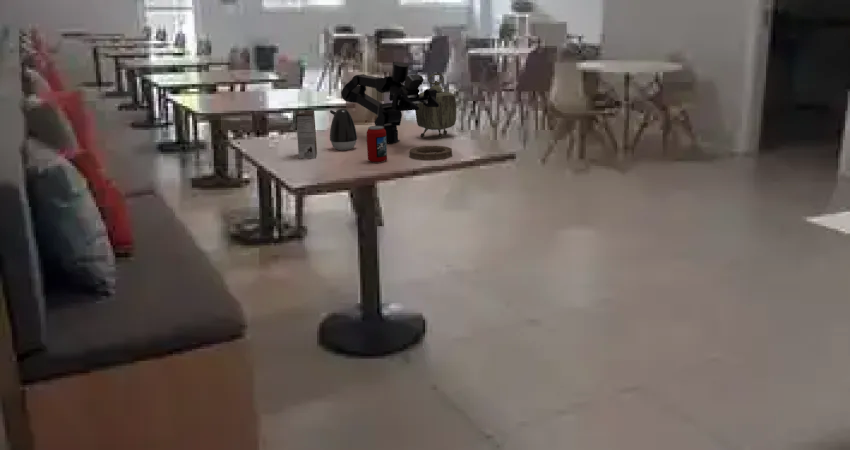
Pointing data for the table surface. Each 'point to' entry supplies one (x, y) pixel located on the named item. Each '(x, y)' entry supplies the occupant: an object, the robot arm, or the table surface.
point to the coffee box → (306, 134)
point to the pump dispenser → (342, 130)
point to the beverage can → (376, 144)
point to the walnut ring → (423, 153)
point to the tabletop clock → (437, 111)
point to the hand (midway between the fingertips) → (428, 107)
